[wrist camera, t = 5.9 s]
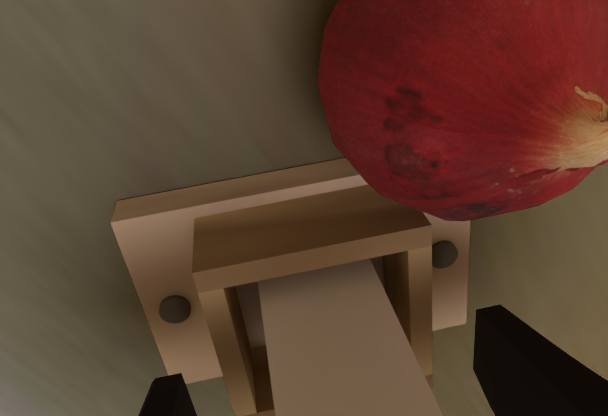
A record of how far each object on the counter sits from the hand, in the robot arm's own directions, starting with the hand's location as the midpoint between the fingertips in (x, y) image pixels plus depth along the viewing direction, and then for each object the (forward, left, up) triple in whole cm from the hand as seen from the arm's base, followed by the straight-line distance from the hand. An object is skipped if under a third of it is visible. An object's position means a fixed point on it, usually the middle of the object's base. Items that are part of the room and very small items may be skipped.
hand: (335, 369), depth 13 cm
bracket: (0, 0, -5) cm, 5 cm away
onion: (+6, -4, -5) cm, 9 cm away
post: (0, 0, -4) cm, 4 cm away
